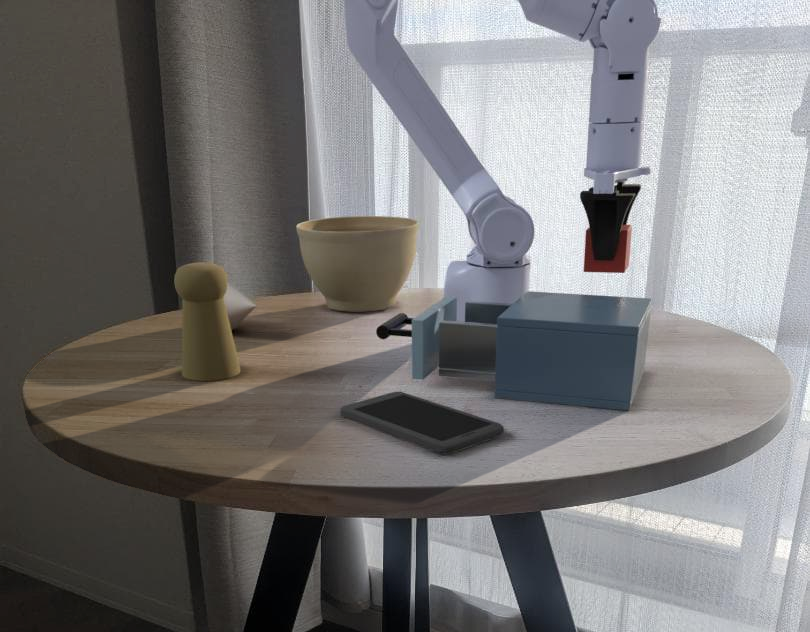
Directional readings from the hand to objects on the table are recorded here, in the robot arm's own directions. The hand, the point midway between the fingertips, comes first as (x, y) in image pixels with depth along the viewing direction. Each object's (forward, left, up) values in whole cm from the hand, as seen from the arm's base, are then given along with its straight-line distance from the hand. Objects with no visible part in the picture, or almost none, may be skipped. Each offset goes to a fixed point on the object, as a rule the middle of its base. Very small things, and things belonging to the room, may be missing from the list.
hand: (606, 256), depth 98 cm
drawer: (-11, -19, -8) cm, 24 cm away
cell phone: (-10, -35, -9) cm, 38 cm away
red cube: (0, 0, -1) cm, 1 cm away
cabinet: (0, -19, -9) cm, 22 cm away
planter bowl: (-34, +9, -10) cm, 36 cm away
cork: (-36, -26, -10) cm, 46 cm away
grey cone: (-43, -10, -10) cm, 46 cm away
